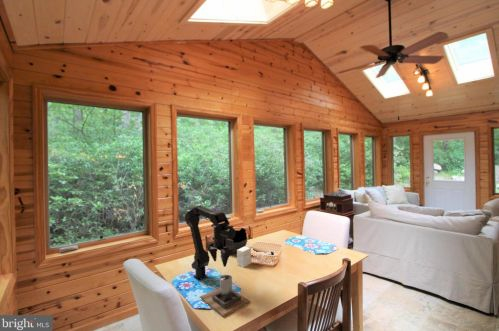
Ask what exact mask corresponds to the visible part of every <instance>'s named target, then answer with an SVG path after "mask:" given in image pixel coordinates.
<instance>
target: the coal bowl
mask: <svg viewBox="0 0 499 331" xmlns="http://www.w3.org/2000/svg"><path fill="white" fill-rule="evenodd" d="M235 231H236V235H235V237H234V238H233V239H232V240H233V241H234V242H233V246H228V245H227V247H224V248H228V247H229V248H232V249H233V250H234V254H235V253H236V254H237V250H238V249H240V248H242V247H244V246H245V247H247V244H248V234H247V229H246V228H243V227H240V229H237V230H236V229H235Z"/></svg>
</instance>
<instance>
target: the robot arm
mask: <svg viewBox="0 0 499 331" xmlns="http://www.w3.org/2000/svg"><path fill="white" fill-rule="evenodd" d="M201 217H204V218H206V219H208V220H209V221H210V223H212V224H211V225H210V227H212V228H213V237H212V240H211V241H208V242H207V243H206V244H205V247H206V248H205V249H207V250H205V249H204V245H203V240H202V235H201V231H200V228H199V224H200V218H201ZM184 220H185V223H186V224H185V225H187V226H188V227H189V229H190V232H191V238H192V241H193V246H194V250H195V252H194V255H193V259H194V260H193V262H192V263H191V269H193V270H195V271H194V273H195V274H194V275H193V276H192V277H193V278H194V279H196V280H197V281H201V280H203V279H206V278H208V275H207V274H206V267H207V266H209V263H210V256H211V257H212V259H213V261H214V262H217V258H218V257H217V255H218V251H220V258H221V263H222V266H223V267H224V268H225V267H227V264H228V260H229V258H230V256H231V257H232V256H233V255H234V254H235V253H234V250H233V249H232V248H229V247H228V248H224V247H227V245H228V246H233V242H234V241H233V240H232V239H233V238H234V237H235V235H236V231H235V230H236V229H235V228H233V227H234V226H233V225H231V224H230V220H228V218H227V215H226V213H225V212H224V211H220V210H219V211H214V210H211V209H209V208H207V207H204V206H203V205H196V206H194V207H193V208H192V209H190V210H189V211H188V212H186V213H185V215H184ZM209 254H210V255H209Z"/></svg>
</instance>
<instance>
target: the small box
mask: <svg viewBox="0 0 499 331" xmlns="http://www.w3.org/2000/svg"><path fill="white" fill-rule="evenodd" d="M251 252H252V249H251V247H248V246H244V247H242V248H240V249H238V250H237V252H236V258H237V259H236V262H237V266H238V267H241V268H245V267H247V266H249V265H250V264H252V253H251Z"/></svg>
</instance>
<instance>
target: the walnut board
mask: <svg viewBox="0 0 499 331" xmlns="http://www.w3.org/2000/svg"><path fill="white" fill-rule="evenodd" d="M232 293H233V299H231V300H229V301H227V302H225V303H224V302H223V301H222V300H220V287H218V288H216V289H214V290H211V291H209V292H207V293H204V294H201V295H200V296H199V299H200V298H201V299H202V300H203V301H204V302H203V301H202V300H201V299H200V300H201V301H202V302H203V303H205V304H206V305H207V304H208V305H209V306H208V305H207V306H208V307H210V308H211V309H212V310H213V311H214V312H216V313H217V315H220V316H221V317H222V318H224V317H226V316H228V315H230V314H232V313H233V312H235V311H237V310H240V309H241V308H242V307H245V306H246V305H247V306H248V304H250V302H251V301H250V299H248V298H246V297H245V296H244V295H242V294H240V293H239V292H237V291H236V290H234V289H233V288H232Z"/></svg>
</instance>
